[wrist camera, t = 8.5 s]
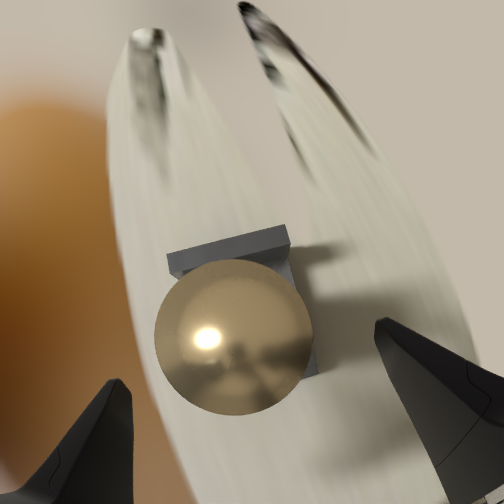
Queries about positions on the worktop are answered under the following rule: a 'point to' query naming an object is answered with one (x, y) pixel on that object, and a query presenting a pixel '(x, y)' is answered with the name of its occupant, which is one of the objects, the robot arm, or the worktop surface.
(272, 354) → the ball
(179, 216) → the worktop surface
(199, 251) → the press bed
